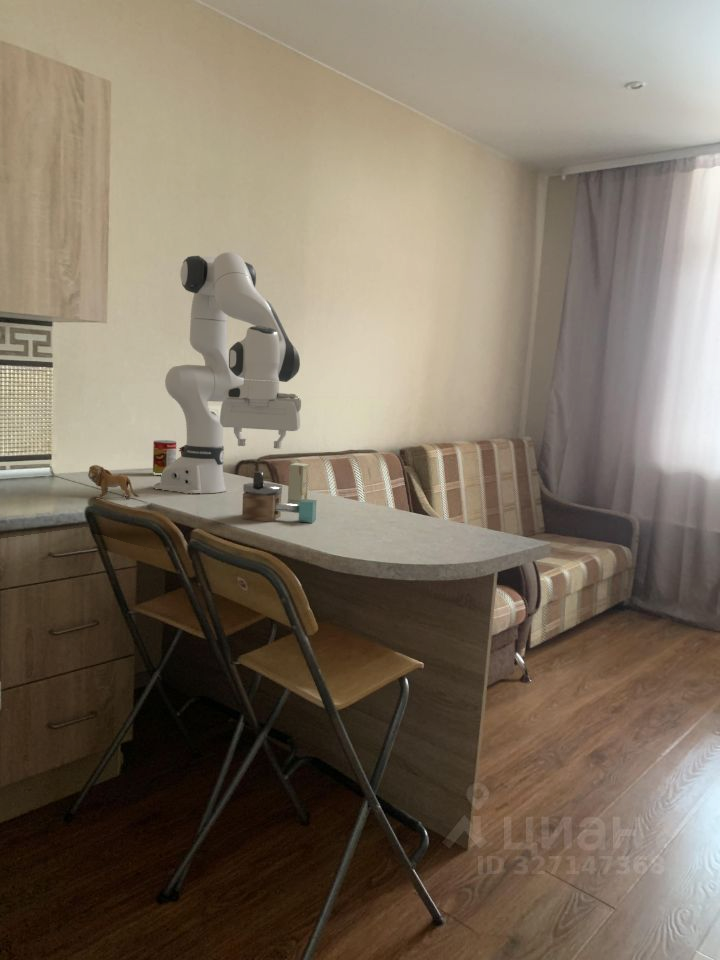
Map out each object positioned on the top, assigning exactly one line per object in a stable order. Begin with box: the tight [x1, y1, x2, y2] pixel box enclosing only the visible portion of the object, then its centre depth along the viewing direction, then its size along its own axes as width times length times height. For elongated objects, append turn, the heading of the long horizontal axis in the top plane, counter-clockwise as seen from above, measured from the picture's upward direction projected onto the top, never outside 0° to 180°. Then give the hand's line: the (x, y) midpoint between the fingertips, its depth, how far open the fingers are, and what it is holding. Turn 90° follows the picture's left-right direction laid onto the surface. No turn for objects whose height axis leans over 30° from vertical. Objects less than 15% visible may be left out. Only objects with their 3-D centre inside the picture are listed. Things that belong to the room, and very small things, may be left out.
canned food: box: [152, 439, 177, 473], centre depth 258 cm, size 8×8×12 cm
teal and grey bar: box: [275, 498, 317, 523], centre depth 190 cm, size 19×4×5 cm, turn 80°
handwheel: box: [242, 471, 283, 495], centre depth 189 cm, size 10×10×6 cm
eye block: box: [241, 492, 282, 522], centre depth 190 cm, size 8×8×7 cm
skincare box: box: [287, 462, 310, 505], centre depth 211 cm, size 6×4×12 cm
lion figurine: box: [87, 464, 140, 500], centre depth 209 cm, size 15×5×9 cm, turn 88°
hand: (259, 447), depth 184 cm, fingers open, 8 cm apart
